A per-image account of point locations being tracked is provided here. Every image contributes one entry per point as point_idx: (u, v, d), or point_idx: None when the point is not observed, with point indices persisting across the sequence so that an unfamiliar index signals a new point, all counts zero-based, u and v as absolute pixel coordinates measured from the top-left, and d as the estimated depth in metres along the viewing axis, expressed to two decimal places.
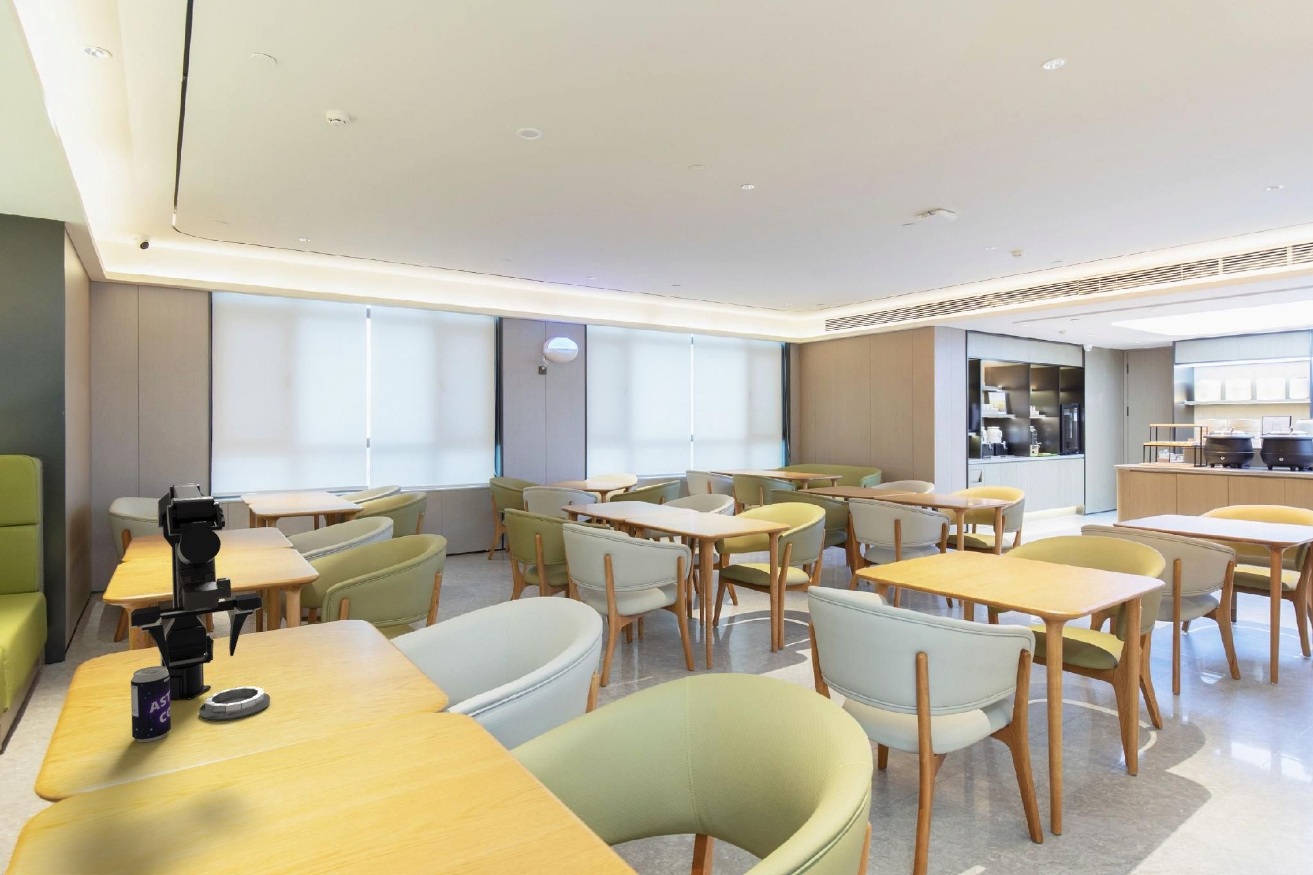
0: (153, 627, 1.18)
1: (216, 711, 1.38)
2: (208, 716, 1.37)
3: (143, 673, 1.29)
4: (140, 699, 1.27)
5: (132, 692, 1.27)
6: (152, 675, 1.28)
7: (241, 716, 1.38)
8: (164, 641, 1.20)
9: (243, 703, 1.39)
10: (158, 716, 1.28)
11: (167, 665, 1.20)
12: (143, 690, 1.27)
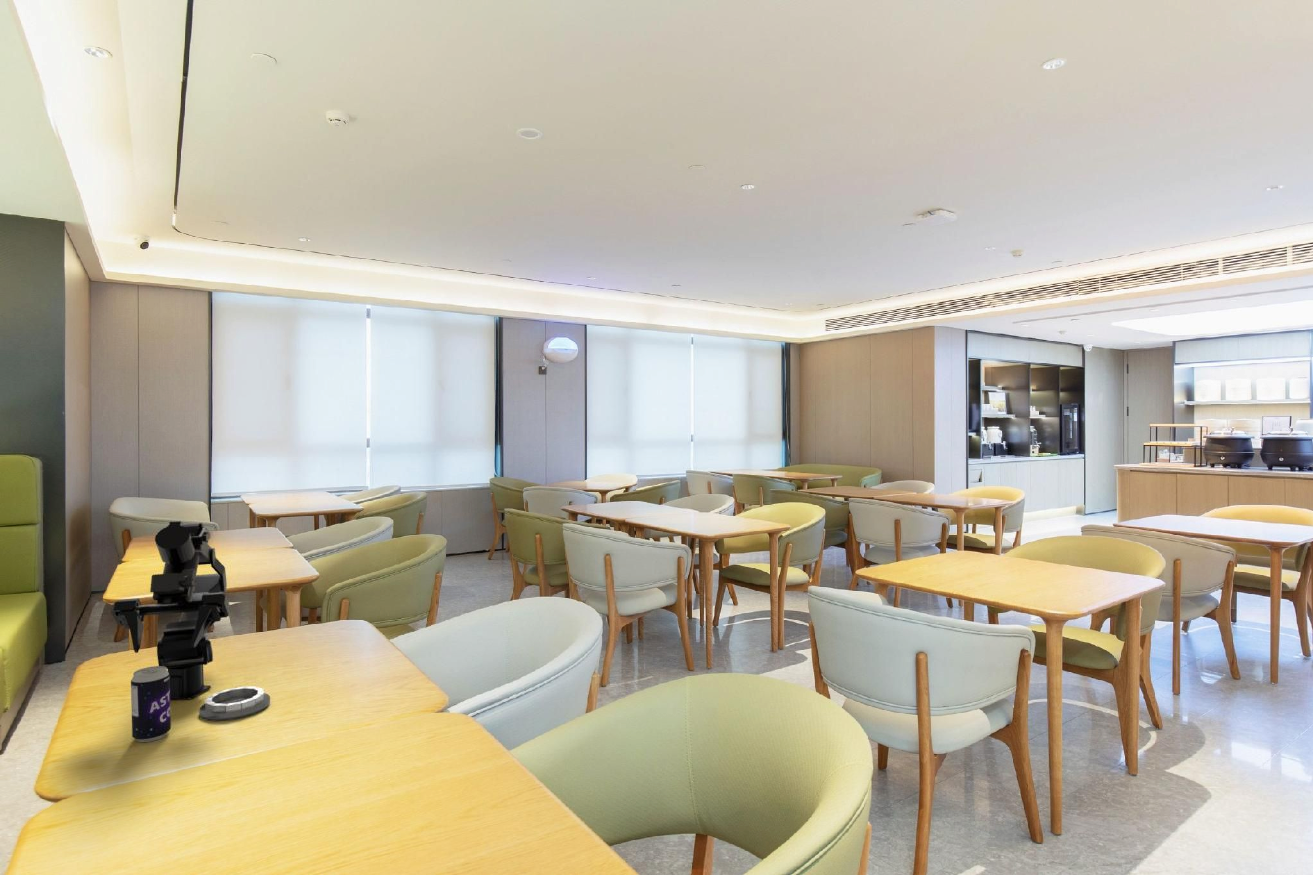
0: (127, 612, 1.37)
1: (216, 711, 1.38)
2: (208, 716, 1.37)
3: (143, 673, 1.29)
4: (140, 699, 1.27)
5: (132, 692, 1.27)
6: (152, 675, 1.28)
7: (241, 716, 1.38)
8: (136, 628, 1.37)
9: (243, 703, 1.39)
10: (158, 716, 1.28)
11: (135, 648, 1.35)
12: (143, 690, 1.27)
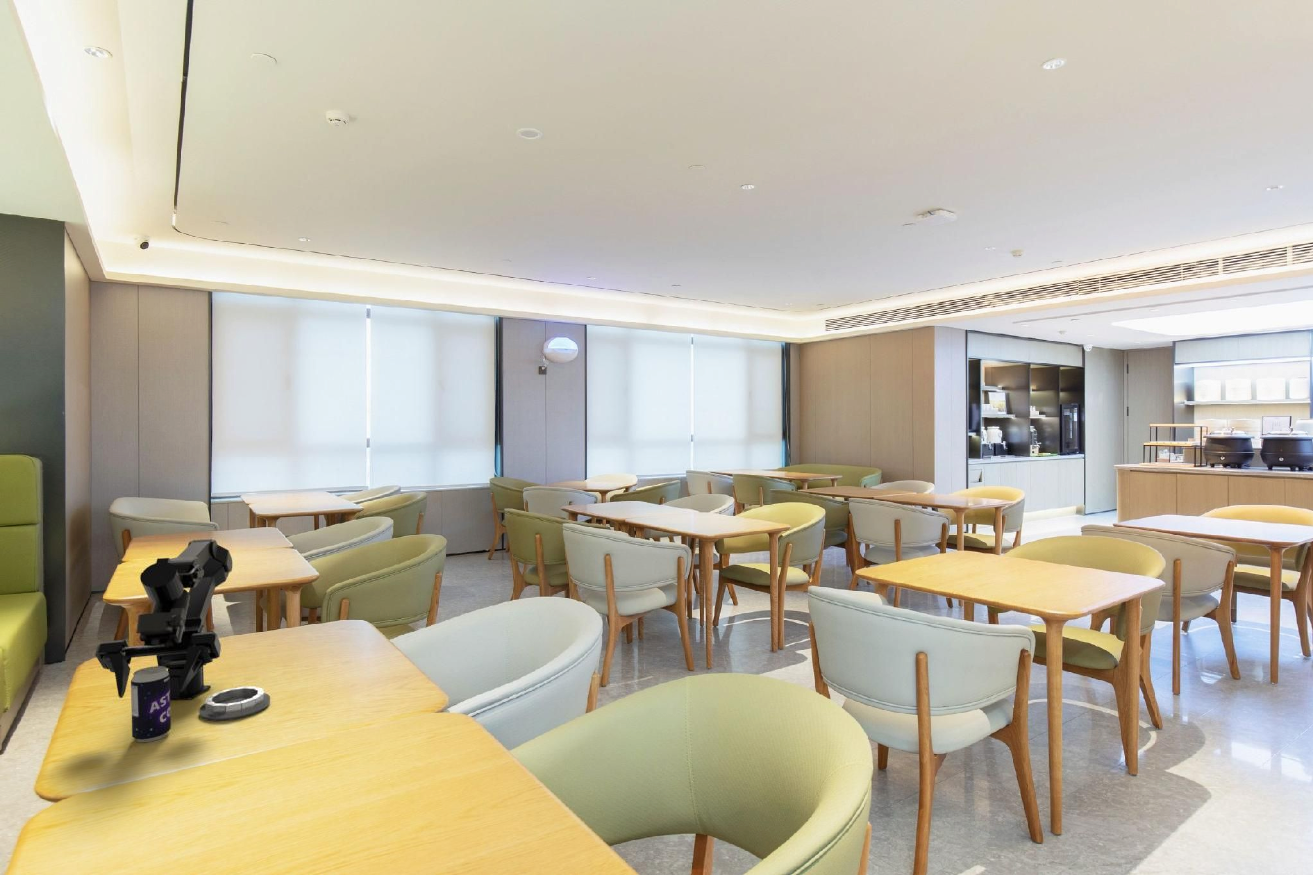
0: (112, 655, 1.30)
1: (216, 711, 1.38)
2: (208, 716, 1.37)
3: (143, 673, 1.29)
4: (140, 699, 1.27)
5: (132, 692, 1.27)
6: (152, 675, 1.28)
7: (241, 716, 1.38)
8: (121, 671, 1.30)
9: (243, 703, 1.39)
10: (158, 716, 1.28)
11: (119, 693, 1.28)
12: (143, 690, 1.27)
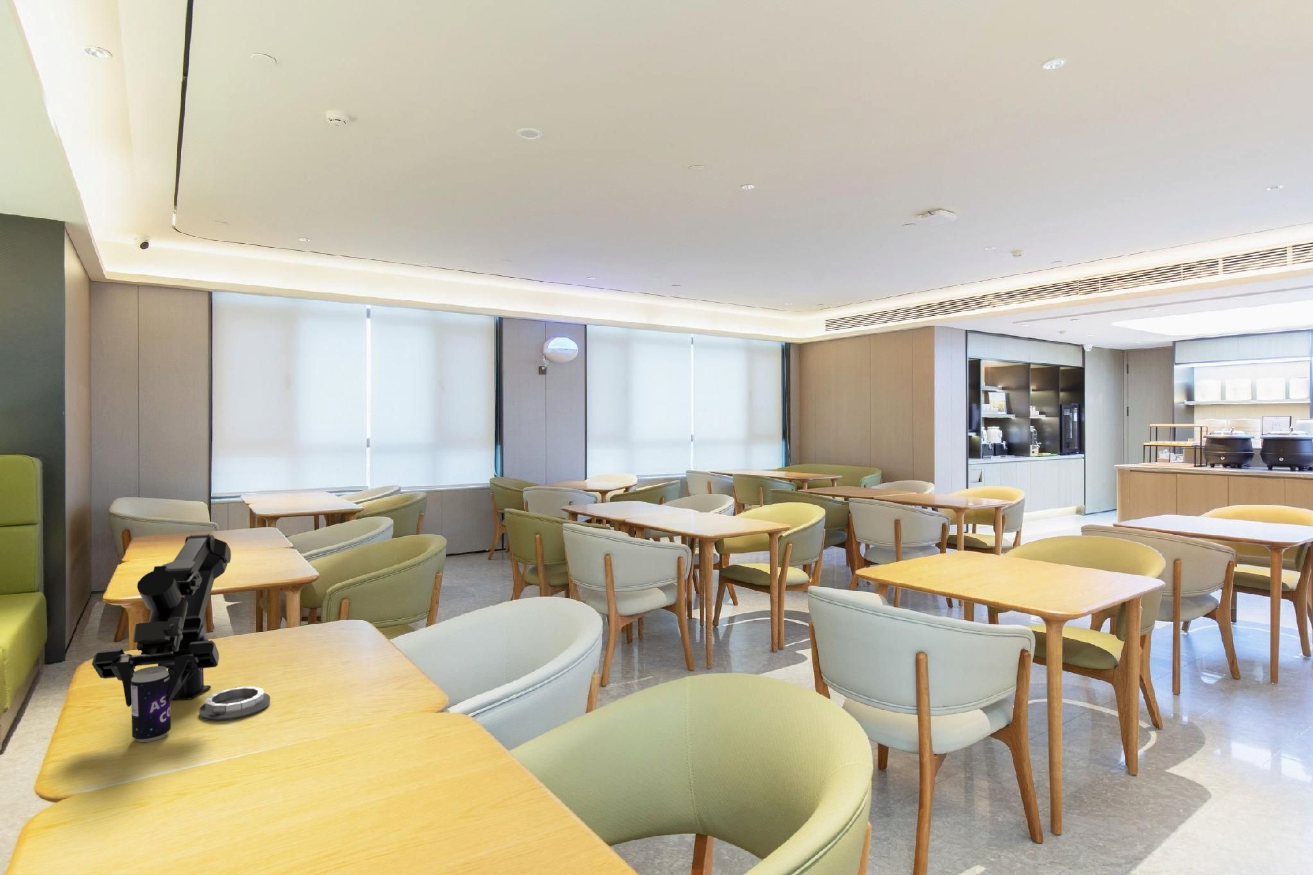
0: (120, 663, 1.29)
1: (216, 711, 1.38)
2: (208, 716, 1.37)
3: (143, 673, 1.29)
4: (140, 699, 1.27)
5: (132, 692, 1.27)
6: (152, 675, 1.28)
7: (241, 716, 1.38)
8: (129, 679, 1.29)
9: (243, 703, 1.39)
10: (158, 716, 1.28)
11: (127, 702, 1.27)
12: (143, 690, 1.27)
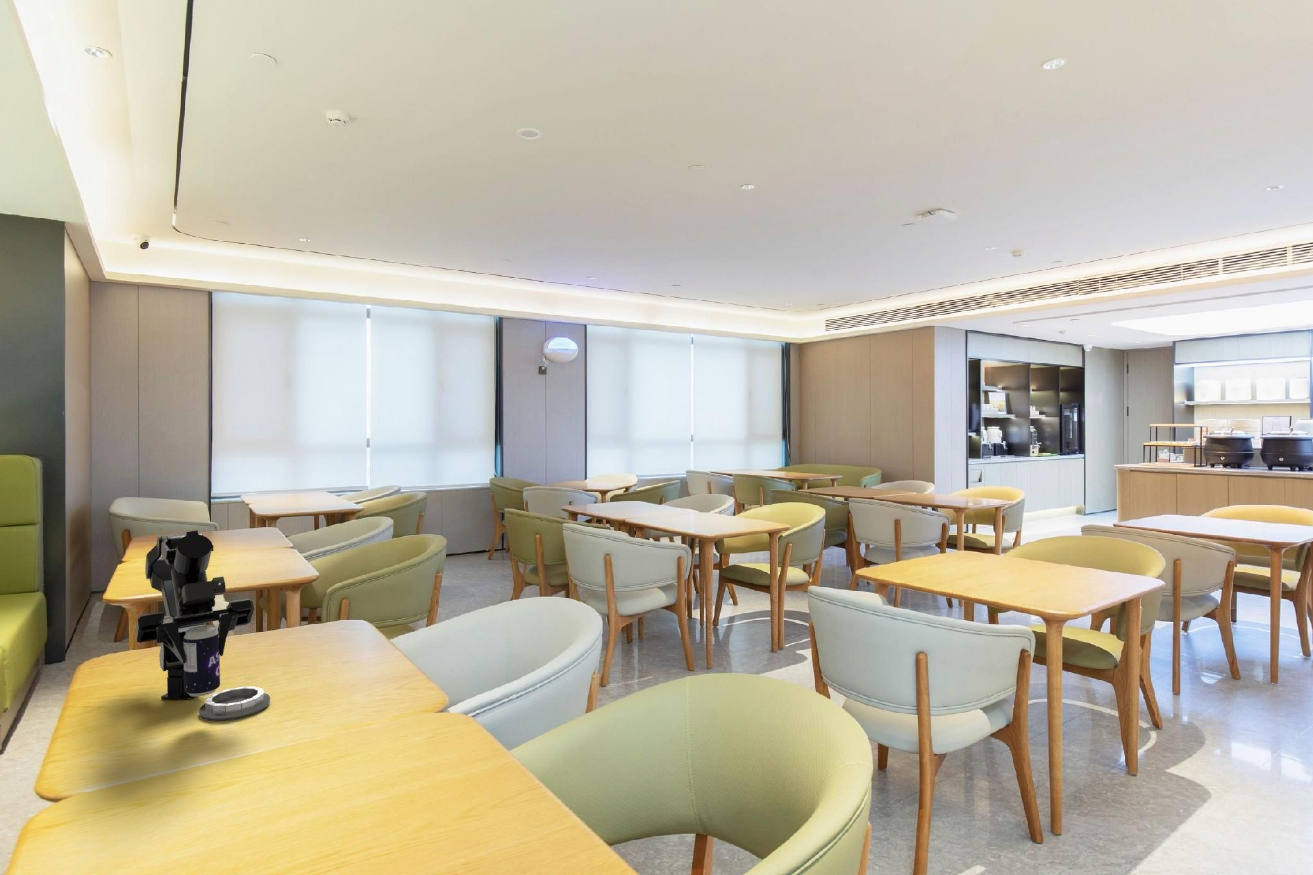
0: (169, 624, 1.33)
1: (216, 711, 1.38)
2: (208, 716, 1.37)
3: (196, 631, 1.35)
4: (199, 655, 1.33)
5: (189, 649, 1.33)
6: (209, 631, 1.35)
7: (241, 716, 1.38)
8: (179, 638, 1.34)
9: (243, 703, 1.39)
10: (214, 670, 1.35)
11: (183, 659, 1.33)
12: (202, 646, 1.33)
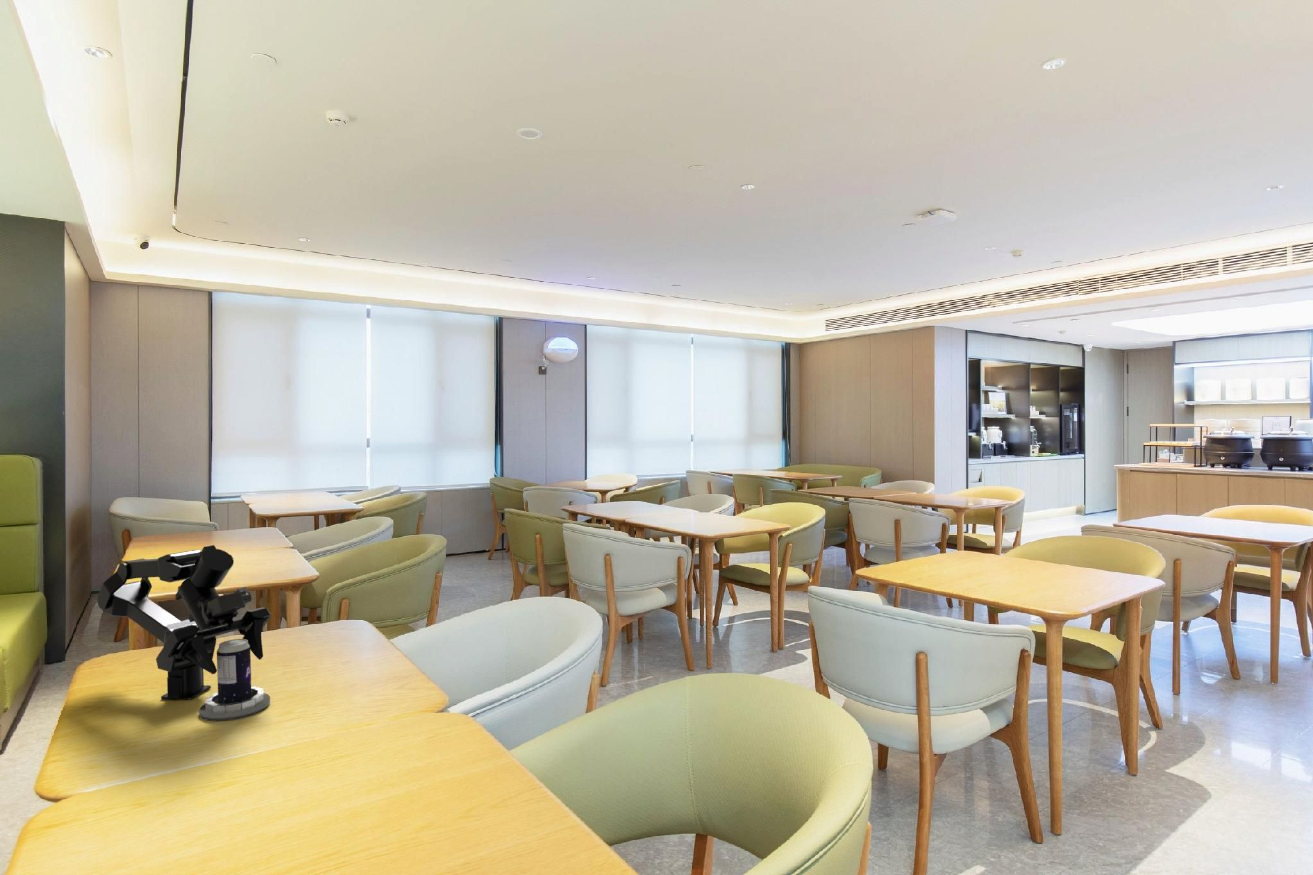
0: (195, 637, 1.37)
1: (216, 711, 1.38)
2: (208, 716, 1.37)
3: (231, 645, 1.41)
4: (238, 666, 1.40)
5: (227, 662, 1.40)
6: (245, 644, 1.42)
7: (241, 716, 1.38)
8: (206, 651, 1.38)
9: (243, 703, 1.39)
10: (250, 680, 1.43)
11: (215, 669, 1.38)
12: (241, 657, 1.41)
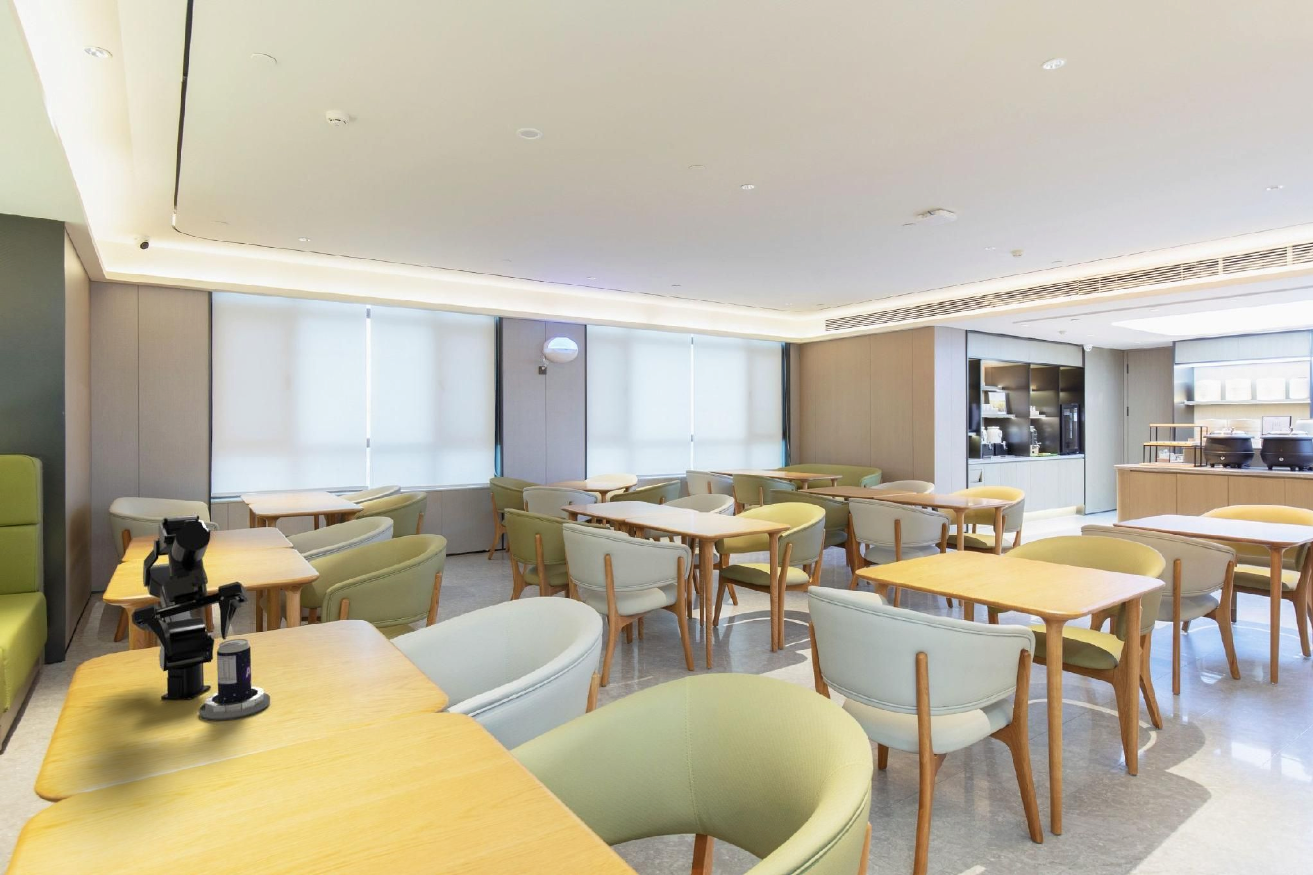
0: (149, 620, 1.38)
1: (216, 711, 1.38)
2: (208, 716, 1.37)
3: (231, 645, 1.41)
4: (238, 666, 1.41)
5: (228, 662, 1.40)
6: (245, 644, 1.42)
7: (241, 716, 1.38)
8: (162, 632, 1.39)
9: (243, 703, 1.39)
10: (250, 680, 1.43)
11: (168, 652, 1.38)
12: (241, 657, 1.41)
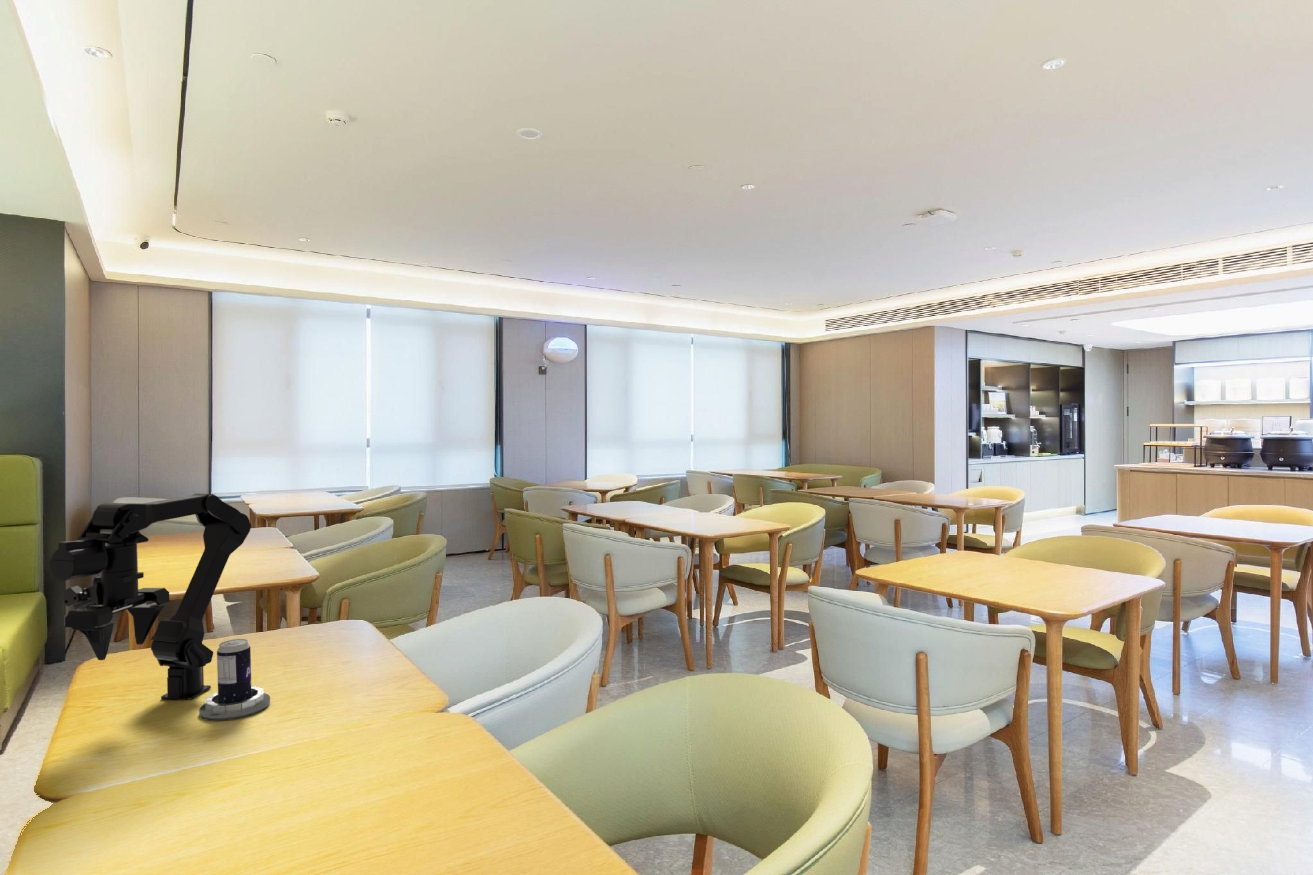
0: None
1: (216, 711, 1.38)
2: (208, 716, 1.37)
3: (231, 645, 1.41)
4: (238, 666, 1.41)
5: (228, 662, 1.40)
6: (245, 644, 1.42)
7: (241, 716, 1.38)
8: (134, 622, 1.42)
9: (243, 703, 1.39)
10: (250, 680, 1.43)
11: None
12: (241, 657, 1.41)
